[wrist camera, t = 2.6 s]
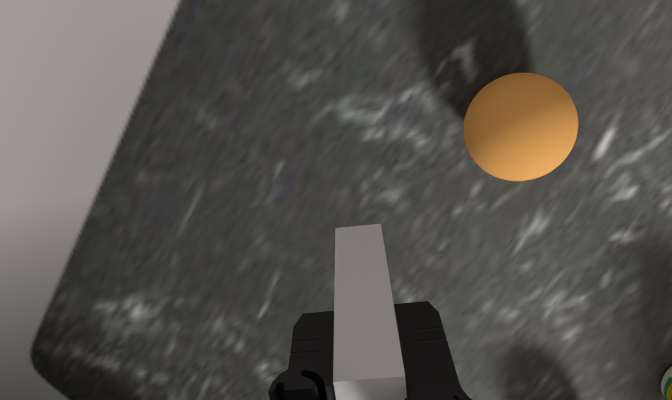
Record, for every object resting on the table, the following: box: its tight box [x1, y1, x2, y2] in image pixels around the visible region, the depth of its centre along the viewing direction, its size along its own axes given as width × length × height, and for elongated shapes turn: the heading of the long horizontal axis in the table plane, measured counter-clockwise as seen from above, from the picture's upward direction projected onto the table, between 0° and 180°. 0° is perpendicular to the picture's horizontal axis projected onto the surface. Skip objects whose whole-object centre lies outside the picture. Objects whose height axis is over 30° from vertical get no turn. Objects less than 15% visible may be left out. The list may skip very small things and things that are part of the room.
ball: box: [463, 73, 578, 181], centre depth 27 cm, size 6×6×6 cm
